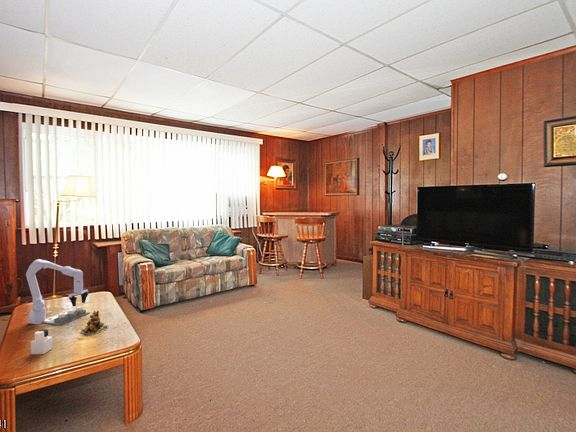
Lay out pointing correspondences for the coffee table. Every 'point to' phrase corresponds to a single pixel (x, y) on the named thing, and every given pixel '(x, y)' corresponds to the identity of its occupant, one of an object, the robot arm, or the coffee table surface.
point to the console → (56, 321)
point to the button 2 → (79, 309)
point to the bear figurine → (94, 325)
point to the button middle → (70, 312)
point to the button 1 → (61, 315)
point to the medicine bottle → (41, 342)
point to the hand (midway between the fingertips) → (78, 304)
